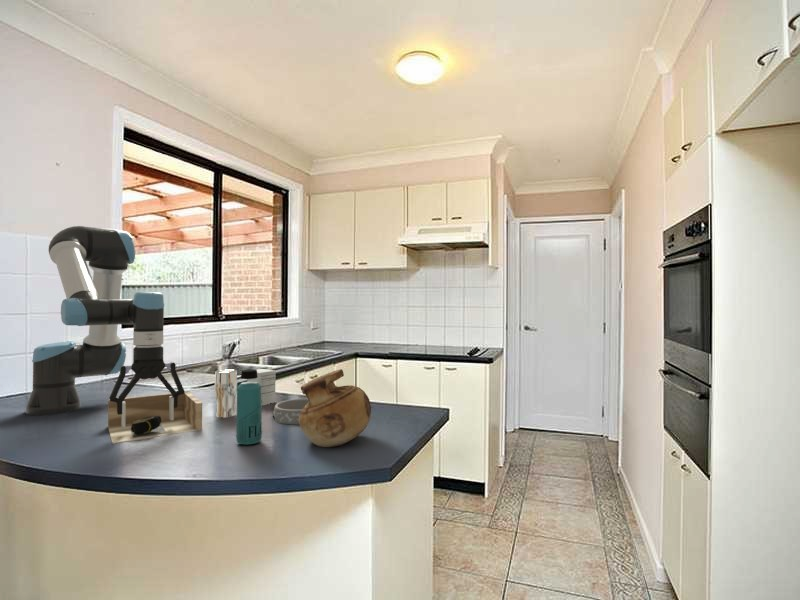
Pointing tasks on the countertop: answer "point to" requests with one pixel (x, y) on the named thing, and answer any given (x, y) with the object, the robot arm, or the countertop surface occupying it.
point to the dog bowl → (289, 411)
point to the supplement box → (266, 385)
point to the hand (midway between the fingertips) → (148, 422)
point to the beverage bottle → (249, 409)
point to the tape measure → (146, 424)
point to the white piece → (225, 392)
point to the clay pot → (333, 411)
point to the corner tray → (155, 405)
